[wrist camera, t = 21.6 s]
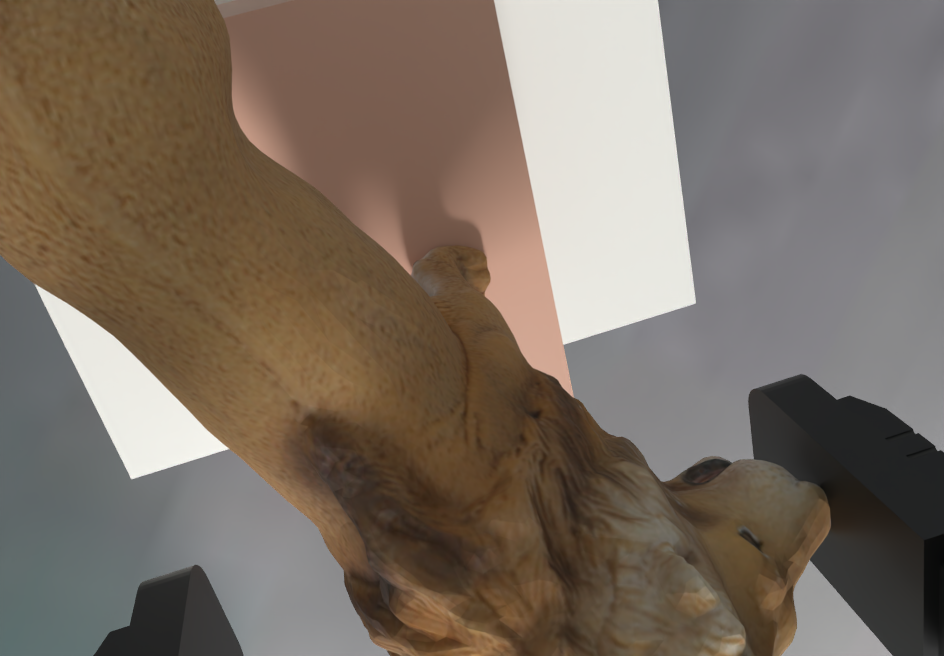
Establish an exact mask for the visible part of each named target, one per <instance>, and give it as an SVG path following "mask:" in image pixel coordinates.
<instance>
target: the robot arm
mask: <svg viewBox="0 0 944 656" xmlns="http://www.w3.org/2000/svg"><path fill="white" fill-rule="evenodd" d="M748 403H749V414H750V424H751V434H752V444H753V454H754V460H763V461H767V462H771V463H774V464H777V465H779V466H781V467H783V468H784V469H786V470H787V471H788V472H789V473H790V474H792V475H793V476H794V477H795V478H796V479H798V480H800V481H807V482H811V483H814V484H816V485H818V486H820V487H821V488H822V489H823V491H824V492H825V495H826V497H827V500H828V504H829V507H830V518H831V528H830V530H829V532H828V534H827V536H826V538H825V539H824V541H823V542H822V543H821V545H820V546H819V547H818V549H817V550H816V551H815V553H814V554H813V555H812V557H811V558H810V561H811V562H812V563H813V564H814V565H815V566H816V567H817V569H818V570H819V571H820V572H821V573H822V574H823V576H824V577H825V578H826V579H827V580H828V581H829V582H830V584H831V585H832V586H833V587H834V588H835V589H836V591H837V592H838V593H839V594H840V595H841V596H842V597H843V599H844V600H845V601H846V602H847V603H848V604H849V606H850V607H851V608H852V609H853V610H854V611H855V612H856V614H857V615H858V616H859V617H860V618H861V619H862V621H863V622H864V623H865V624H866V625H867V626H868V627H869V629H870V630H871V631H872V632H873V633H874V634H875V636H876V637H877V638H878V639H879V640H880V641H881V642H882V644H883V645H884V646H885V647H886V648H887V649H888V651H889V652H890V653H891V654H892V655H893V656H944V452H942V451H941V450H940V451H937V450H936V448H935V446H934V445H933V444H932V443H931V442H929V441H928V440H927V439H925V438H924V437H923V436H921V435H920V434H919V433H917V434H915V433H914V431H913V429H912V428H911V427H909V426H908V425H907V424H905V423H904V422H903V421H902V420H900V419H899V418H898V417H896V416H895V415H894V414H892V413H891V412H890V411H888V410H887V409H885V408H882V407H880V406H877V405H874V404H871V403H868V402H866V401H863V400H860V399H857V398H855V397H852V396H847V397H844V398H841V399H838V400H836V399H835V398H834V397H833V396H832V395H830V394H829V393H828V392H827V391H825V390H824V389H823V388H822V387H820V386H819V385H818V384H817V383H815V382H814V381H813V380H812V379H811V378H809V377H808V376H806V375H802V374H800V375H797V376H794V377H790V378H787V379H784V380H781V381H778V382H775V383H772V384H768V385H765V386H762V387H759V388H756V389H753V390H752V391H751V392H750V394H749V401H748ZM94 656H243V652H242V649H241V647H240V644H239V642H238V640H237V638H236V636H235V634H234V632H233V629H232V627H231V625H230V623H229V621H228V619H227V617H226V615H225V613H224V611H223V609H222V607H221V605H220V603H219V600H218V598H217V596H216V594H215V592H214V590H213V588H212V586H211V584H210V582H209V580H208V578H207V576H206V574H205V572H204V571H203V569H202V568H201V567H200V566H198V565H194V566H191V567H188V568H185V569H181V570H178V571H175V572H172V573H169V574H166V575H163V576H159V577H156V578H153V579H150V580H147V581H144V582H142V583H141V584H140V586H139V588H138V591H137V595H136V600H135V604H134V609H133V613H132V618H131V622H130V626H127V627H124V628H121V629H118V630H115V631H112V632H110V633H109V634H108V635H107V637H106V638H105V640H104V641H103V643H102V644H101V646H100V647H99V649H98V650H97V652H96V653H95V654H94Z"/></svg>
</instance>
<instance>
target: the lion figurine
mask: <svg viewBox="0 0 944 656" xmlns="http://www.w3.org/2000/svg"><path fill="white" fill-rule="evenodd" d="M0 255H1V256H2V257H3V258H4V259H5V260H6V261H7V262H8V263H9V264H11V265H12V266H13V267H14V268H16V269H17V270H18V271H19V272H20V273H22V274H23V275H24V276H25V277H27V278H28V279H29V280H30V281H31V282H33V283H34V284H36V285H37V286H39V287H41V288H42V289H44V290H46V291H47V292H49V293H51V294H52V295H54V296H56V297H57V298H59V299H61V300H62V301H64V302H66V303H67V304H69V305H70V306H72V307H73V308H75V309H76V310H78V311H79V312H81V313H82V314H84V315H85V316H87V317H88V318H90V319H91V320H92V321H94V322H95V323H97V324H98V325H99V326H101V327H102V328H103V329H105V330H106V331H107V332H109V333H110V334H111V335H113V336H114V337H115V338H116V339H117V340H118V341H119V342H121V343H122V344H123V345H124V346H125V347H126V348H127V349H128V350H129V351H130V352H131V353H132V354H133V355H134V356H135V357H136V358H137V359H138V360H139V361H140V362H141V363H142V364H143V365H144V366H145V367H146V368H147V369H148V370H149V371H150V372H151V373H152V374H153V375H154V376H155V377H156V378H157V379H158V380H159V381H160V382H161V383H162V384H163V385H164V386H165V387H166V388H167V389H168V390H169V391H170V392H171V393H172V394H173V395H174V396H175V397H176V398H177V399H178V400H179V401H180V402H181V403H182V404H183V406H184V407H185V408H186V409H187V410H188V411H189V412H190V413H191V414H192V415H193V416H194V417H195V418H196V419H197V420H198V421H199V422H200V423H201V424H202V425H203V426H204V427H205V429H207V430H208V431H209V432H210V433H211V434H212V435H213V436H214V437H216V438H217V439H218V440H219V441H220V442H221V443H222V444H224V445H225V446H226V447H228V448H229V449H230V450H231V451H233V452H234V453H235V454H237V455H238V456H239V457H240V458H241V459H242V460H244V461H245V462H246V463H247V464H248V465H249V466H250V467H251V468H252V469H253V470H254V471H255V472H257V473H258V474H259V475H260V476H261V477H262V478H263V479H264V480H265V481H266V482H267V483H268V484H270V485H271V486H272V487H273V488H274V489H275V490H276V491H277V492H278V493H279V494H280V495H282V496H283V497H284V498H285V499H286V500H287V501H288V502H289V503H291V504H292V505H293V506H294V507H296V508H297V509H298V510H299V511H300V512H302V513H303V514H304V515H305V516H307V517H308V518H309V519H310V520H311V521H312V522H313V523H314V524H315V525H316V526H317V527H318V529H319V531H320V533H321V535H322V537H323V539H324V541H325V543H326V545H327V547H328V549H329V551H330V552H331V554H332V555H333V557H334V558H335V559H336V560H337V562H338V563H339V564H340V566H341V567H342V568H343V570H344V582H345V587H346V589H347V592H348V594H349V597H350V600H351V602H352V604H353V606H354V608H355V610H356V612H357V614H358V615H359V616H360V618H361V620H362V622H363V624H364V626H365V627H366V629H367V630H368V632H369V636H370V639H371V640H372V641H373V643H374V644H375V645H378V646H380V647H382V648H384V649H386V650H387V652H388V653H389V655H390V656H781V655H782V654H783V652H784V651H785V650H786V649H787V648H788V646H789V645H790V644H791V643H792V641H793V638H794V635H795V632H796V629H797V618H796V612H795V606H794V600H793V591H794V587H795V585H796V583H797V581H798V580H799V578H800V576H801V575H802V573H803V571H804V570H805V567H806V565H807V563H808V562H809V560H810V558H811V557H812V555H813V554H814V553H815V551H816V550H817V549H818V547H819V546H820V545H821V543H822V542H823V541H824V539H825V538H826V536H827V534H828V532H829V530H830V528H831V518H830V507H829V504H828V500H827V497H826V495H825V492H824V491H823V489H822V488H821V487H820V486H818V485H816V484H814V483H811V482H807V481H800V480H798V479H796V478H795V477H794V476H793V475H792V474H790V473H789V472H788V471H787V470H786V469H784V468H783V467H781V466H779V465H777V464H774V463H771V462H767V461H763V460H754V459H747V460H738V461H736V462H733V463H731V462H730V461H728V460H726V459H723V458H721V457H716V456H710V457H706V458H703V459H701V460H700V461H698V462H697V463H696V464H694V465H693V466H692V467H690V468H688V469H687V470H685V471H684V472H682V473H681V474H679V475H678V476H677V477H675V478H674V479H672V480H670V481H666V482H661V481H660V480H659V479H658V478H657V476H656V475H655V474H654V473H653V472H652V470H651V469H650V468H649V466H648V464H647V462H646V460H645V458H644V456H643V455H642V453H641V452H640V451H639V450H638V448H637V447H636V446H635V445H634V444H633V443H632V442H631V441H630V440H628V439H626V438H624V437H616V436H613V435H610V434H608V433H607V432H605V431H604V430H602V429H601V428H600V426H599V425H598V424H597V423H596V421H595V420H594V419H593V417H592V416H591V415H590V414H589V412H588V411H587V410H586V408H585V407H584V405H583V403H581V402H580V401H579V400H577V399H575V398H573V397H572V396H571V395H570V394H569V393H568V392H567V391H566V390H564V389H563V388H562V386H561V384H560V383H559V381H558V380H557V379H556V378H555V377H553V376H551V375H548V374H546V373H544V372H541V371H539V370H537V369H534V368H532V367H531V365H530V364H529V363H528V362H527V360H526V359H525V357H524V356H523V354H522V353H521V351H520V349H519V346H518V344H517V342H516V339H515V337H514V335H513V333H512V332H511V330H510V328H509V326H508V324H507V323H506V321H505V319H504V318H503V316H502V314H501V313H500V312H499V310H498V309H497V308H496V306H495V305H494V304H493V303H492V302H491V301H490V300H489V299H487V298H486V297H485V291H486V289H487V287H488V285H489V284H490V280H491V277H490V272H489V270H488V267H487V257H486V256H485V254H484V253H483V252H482V251H480V250H477V249H474V248H471V247H465V246H459V245H455V246H442V247H437V248H435V249H432V250H430V251H429V252H428V253H427V254H426V255H425V256H424V257H423V258H422V259H421V260H418V261H416V262H415V263H414V264H413V269H412V273H411V275H410V274H409V273H408V272H407V271H406V270H405V269H404V268H403V267H402V266H401V265H400V264H399V263H398V261H397V260H396V259H395V258H394V257H393V256H392V255H390V254H389V253H388V252H387V251H386V250H385V249H384V248H383V247H382V246H380V245H379V244H378V243H377V242H376V241H374V240H373V239H372V238H371V237H370V236H368V235H367V234H366V233H365V232H363V231H362V230H361V229H359V228H358V227H357V226H356V225H354V224H353V223H352V222H351V221H350V220H349V219H348V218H347V217H346V216H345V215H344V214H343V213H342V212H341V211H340V210H339V209H338V208H337V207H336V206H335V205H334V204H333V203H332V202H331V201H330V200H329V199H327V198H326V197H325V196H324V195H323V194H322V193H321V192H320V191H318V190H317V189H316V188H315V187H313V186H312V185H310V184H309V183H307V182H306V181H304V180H303V179H302V178H300V177H299V176H297V175H296V174H294V173H292V172H291V171H289V170H288V169H286V168H285V167H283V166H282V165H280V164H278V163H277V162H275V161H274V160H272V159H271V158H270V157H268V156H267V155H266V154H264V153H263V152H261V151H260V150H259V149H258V148H257V147H256V146H255V145H254V144H252V143H251V142H250V141H249V139H248V138H247V137H246V135H245V134H244V132H243V131H242V129H241V128H240V126H239V124H238V121H237V119H236V117H235V114H234V110H233V103H232V61H231V49H230V37H229V34H228V30H227V27H226V24H225V21H224V19H223V17H222V15H221V13H220V11H219V9H218V7H217V5H216V3H215V1H214V0H0Z"/></svg>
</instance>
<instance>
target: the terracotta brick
mask: <svg viewBox="0 0 944 656" xmlns="http://www.w3.org/2000/svg"><path fill="white" fill-rule="evenodd" d="M217 7H218V9H219V11H220V13H221V15H222V17H223V19H224V21H225V24H226V27H227V30H228V34H229V37H230V49H231V61H232V103H233V110H234V114H235V117H236V119H237V121H238V124H239V126H240V128H241V129H242V131H243V132H244V134H245V135H246V137H247V138H248V139H249V141H250V142H251V143H252V144H254V145H255V146H256V147H257V148H258V149H259V150H260V151H261V152H263V153H264V154H266V155H267V156H268V157H270V158H271V159H272V160H274V161H275V162H277V163H278V164H280V165H282V166H283V167H285V168H286V169H288V170H289V171H291V172H292V173H294V174H296V175H297V176H299V177H300V178H302V179H303V180H304V181H306V182H307V183H309V184H310V185H312V186H313V187H315V188H316V189H317V190H318V191H320V192H321V193H322V194H323V195H324V196H325V197H326V198H327V199H329V200H330V201H331V202H332V203H333V204H334V205H335V206H336V207H337V208H338V209H339V210H340V211H341V212H342V213H343V214H344V215H345V216H346V217H347V218H348V219H349V220H350V221H351V222H352V223H353V224H354V225H356V226H357V227H358V228H359V229H361V230H362V231H363V232H365V233H366V234H367V235H368V236H370V237H371V238H372V239H373V240H374V241H376V242H377V243H378V244H379V245H380V246H382V247H383V248H384V249H385V250H386V251H387V252H388V253H389V254H390V255H392V256H393V257H394V258H395V259H396V260H397V261H398V263H399V264H400V265H401V266H402V267H403V268H404V269H405V270H406V271H407V272H408V273H409V274H410V275H411V273H412V269H413V264H414V263H415V262H416V261H418V260H421V259H422V258H423V257H424V256H425V255H426V254H427V253H428V252H429V251H430V250H432V249H435V248H437V247H442V246H455V245H459V246H465V247H471V248H474V249H477V250H480V251H482V252H483V253H484V254H485V256H486V257H487V267H488V270H489V272H490V277H491V280H490V284H489V285H488V287H487V289H486V291H485V297H486V298H487V299H489V300H490V301H491V302H492V303H493V304H494V305H495V306H496V308H497V309H498V310H499V312H500V313H501V314H502V316H503V318H504V319H505V321H506V323H507V324H508V326H509V328H510V330H511V332H512V333H513V335H514V337H515V339H516V342H517V344H518V346H519V349H520V351H521V353H522V354H523V356H524V357H525V359H526V360H527V362H528V363H529V364H530V365H531V367H532V368H534V369H537V370H539V371H541V372H544V373H546V374H548V375H551V376H553V377H555V378H556V379H557V380H558V381H559V383H560V384H561V386H562V388H563V389H564V390H566V391H567V392H568V393H569V394H570V395H571V396H572V397H573V398H574V396H573V391H572V386H571V381H570V376H569V371H568V366H567V361H566V356H565V351H564V346H563V341H562V336H561V331H560V326H559V321H558V316H557V312H556V307H555V302H554V297H553V292H552V287H551V282H550V277H549V272H548V267H547V262H546V257H545V252H544V247H543V242H542V237H541V232H540V227H539V222H538V217H537V212H536V207H535V202H534V197H533V192H532V187H531V182H530V177H529V172H528V167H527V162H526V157H525V152H524V147H523V142H522V137H521V132H520V127H519V122H518V118H517V113H516V108H515V103H514V98H513V93H512V88H511V83H510V78H509V73H508V68H507V63H506V58H505V53H504V48H503V43H502V38H501V33H500V28H499V23H498V18H497V13H496V8H495V3H494V0H235V1H231V2H227V3H223V4H219V5H217Z"/></svg>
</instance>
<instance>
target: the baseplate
mask: <svg viewBox="0 0 944 656" xmlns="http://www.w3.org/2000/svg"><path fill="white" fill-rule="evenodd" d="M214 1H215V3H216V5H219V4H223V3H227V2H231V1H235V0H214ZM494 3H495V8H496V13H497V18H498V23H499V28H500V33H501V38H502V43H503V48H504V53H505V58H506V63H507V68H508V73H509V78H510V83H511V88H512V93H513V98H514V103H515V108H516V113H517V118H518V122H519V127H520V132H521V137H522V142H523V147H524V152H525V157H526V162H527V167H528V172H529V177H530V182H531V187H532V192H533V197H534V202H535V207H536V212H537V217H538V222H539V227H540V232H541V237H542V242H543V247H544V252H545V257H546V262H547V267H548V272H549V277H550V282H551V287H552V292H553V297H554V302H555V307H556V312H557V316H558V321H559V326H560V331H561V336H562V341H563V345H564V344H567V343H570V342H573V341H577V340H580V339H583V338H586V337H590V336H593V335H596V334H599V333H602V332H606V331H609V330H612V329H615V328H618V327H622V326H625V325H628V324H631V323H634V322H638V321H641V320H644V319H647V318H651V317H654V316H657V315H660V314H663V313H667V312H670V311H673V310H676V309H679V308H683V307H686V306H689V305H692V304H695V303H696V300H695V292H694V285H693V277H692V269H691V261H690V253H689V245H688V237H687V229H686V221H685V213H684V205H683V197H682V189H681V181H680V173H679V165H678V157H677V149H676V141H675V133H674V126H673V118H672V110H671V102H670V94H669V86H668V78H667V70H666V62H665V54H664V46H663V38H662V30H661V22H660V14H659V6H658V0H494ZM35 286H36V288H37V290H38V292H39V294H40V296H41V298H42V300H43V302H44V304H45V306H46V308H47V310H48V312H49V314H50V316H51V318H52V320H53V322H54V324H55V326H56V328H57V330H58V332H59V334H60V336H61V338H62V340H63V342H64V344H65V346H66V348H67V350H68V352H69V354H70V356H71V358H72V360H73V362H74V364H75V366H76V368H77V370H78V372H79V375H80V377H81V379H82V381H83V383H84V385H85V387H86V389H87V391H88V393H89V395H90V397H91V399H92V401H93V403H94V405H95V407H96V409H97V411H98V413H99V415H100V417H101V419H102V421H103V423H104V425H105V427H106V429H107V431H108V433H109V435H110V437H111V439H112V441H113V443H114V445H115V447H116V449H117V451H118V453H119V455H120V457H121V459H122V461H123V463H124V465H125V467H126V469H127V471H128V473H129V475H130V477H131V479H134V478H137V477H140V476H143V475H147V474H150V473H153V472H156V471H159V470H163V469H166V468H169V467H172V466H175V465H179V464H182V463H185V462H188V461H192V460H195V459H198V458H201V457H204V456H208V455H211V454H214V453H217V452H220V451H224V450H227V449H229V448H228V447H226V446H225V445H224V444H222V443H221V442H220V441H219V440H218V439H217V438H216V437H214V436H213V435H212V434H211V433H210V432H209V431H208V430H207V429H205V427H204V426H203V425H202V424H201V423H200V422H199V421H198V420H197V419H196V418H195V417H194V416H193V415H192V414H191V413H190V412H189V411H188V410H187V409H186V408H185V407H184V406H183V404H182V403H181V402H180V401H179V400H178V399H177V398H176V397H175V396H174V395H173V394H172V393H171V392H170V391H169V390H168V389H167V388H166V387H165V386H164V385H163V384H162V383H161V382H160V381H159V380H158V379H157V378H156V377H155V376H154V375H153V374H152V373H151V372H150V371H149V370H148V369H147V368H146V367H145V366H144V365H143V364H142V363H141V362H140V361H139V360H138V359H137V358H136V357H135V356H134V355H133V354H132V353H131V352H130V351H129V350H128V349H127V348H126V347H125V346H124V345H123V344H122V343H121V342H119V341H118V340H117V339H116V338H115V337H114V336H113V335H111V334H110V333H109V332H107V331H106V330H105V329H103V328H102V327H101V326H99V325H98V324H97V323H95V322H94V321H92V320H91V319H90V318H88V317H87V316H85V315H84V314H82V313H81V312H79V311H78V310H76V309H75V308H73V307H72V306H70V305H69V304H67V303H66V302H64V301H62V300H61V299H59V298H57V297H56V296H54V295H52V294H51V293H49V292H47V291H46V290H44V289H42V288H41V287H39V286H37V285H36V284H35Z"/></svg>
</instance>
